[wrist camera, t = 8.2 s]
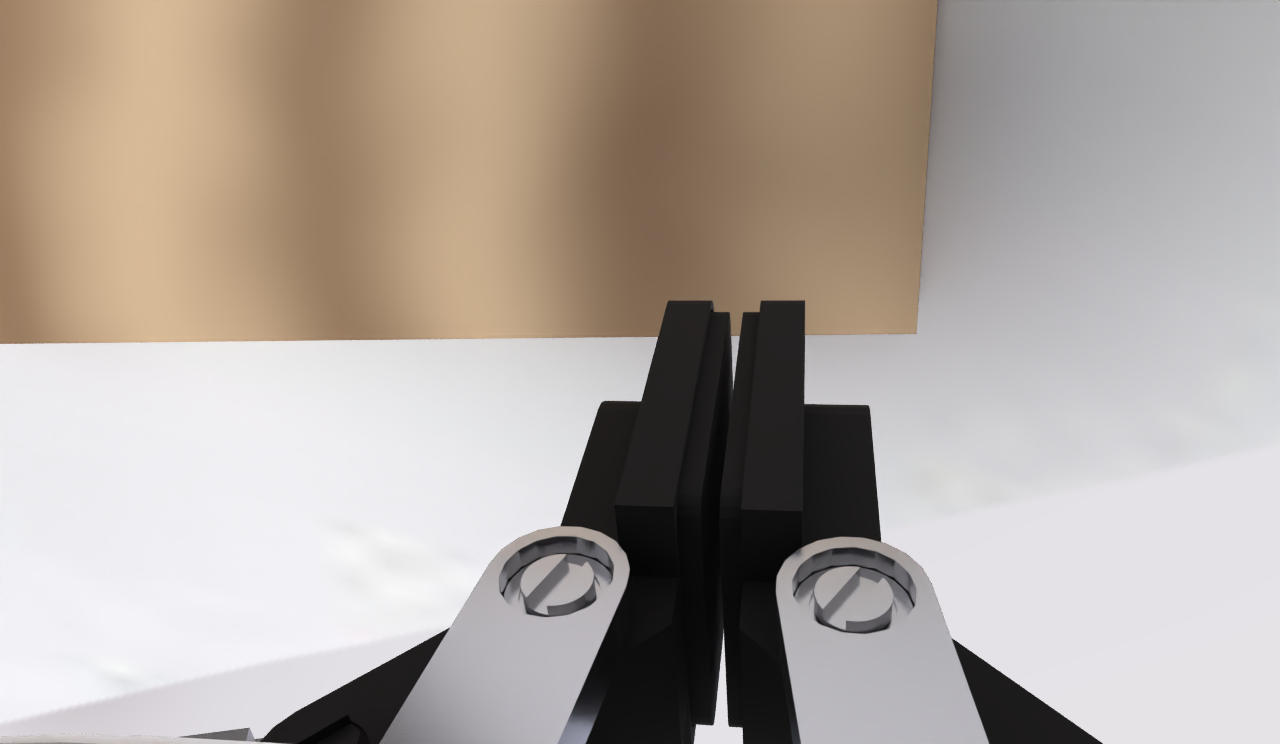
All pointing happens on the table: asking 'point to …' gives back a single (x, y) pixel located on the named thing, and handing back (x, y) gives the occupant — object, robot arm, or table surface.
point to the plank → (457, 166)
